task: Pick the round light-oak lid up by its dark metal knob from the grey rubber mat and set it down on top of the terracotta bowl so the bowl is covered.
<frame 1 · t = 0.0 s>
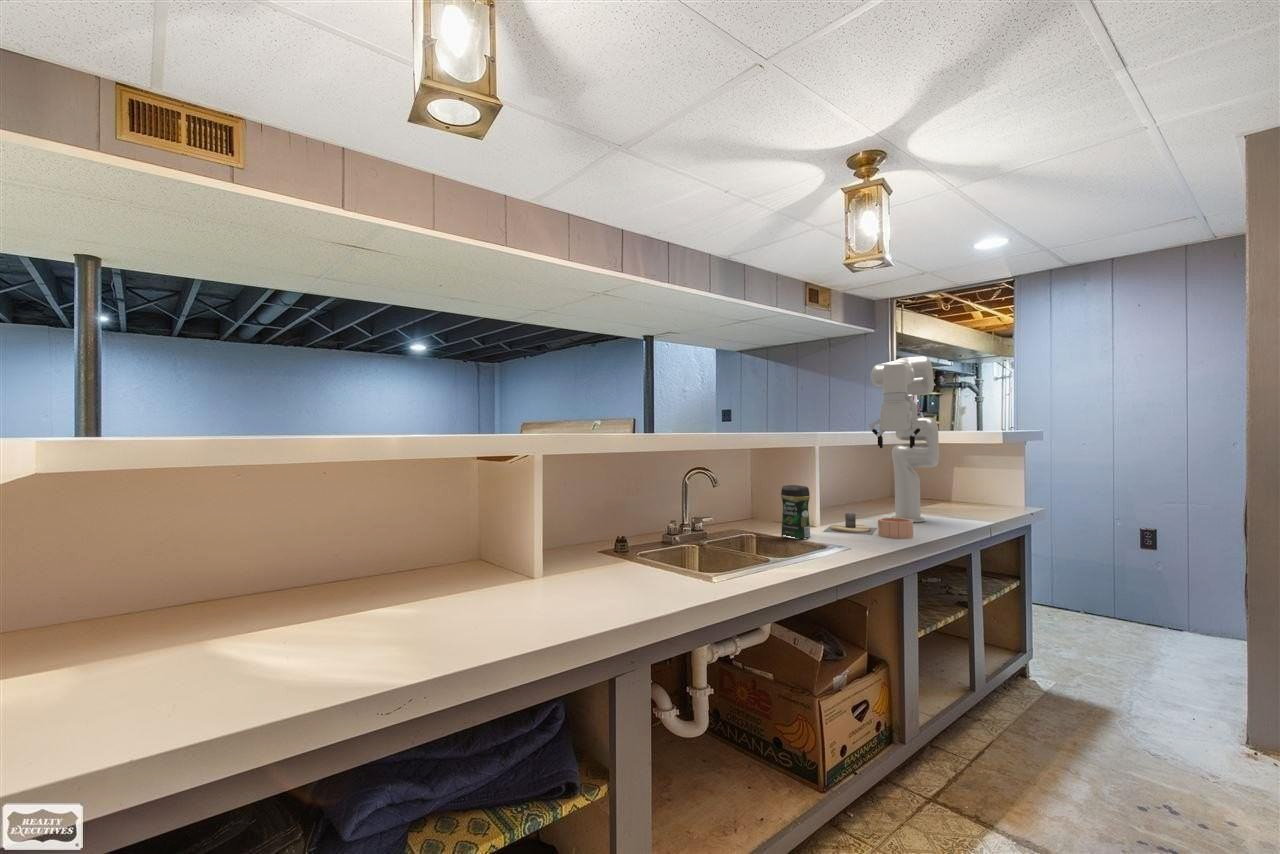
hand: (896, 448, 203), 31 cm above the counter, tool pointing down, fingers open, 9 cm apart
coffee jar: (795, 538, 207), on the counter
terracotta bowl: (895, 537, 206), on the counter
oak lid: (850, 529, 219), resting on rubber mat
rubber mat: (850, 531, 219), on the counter
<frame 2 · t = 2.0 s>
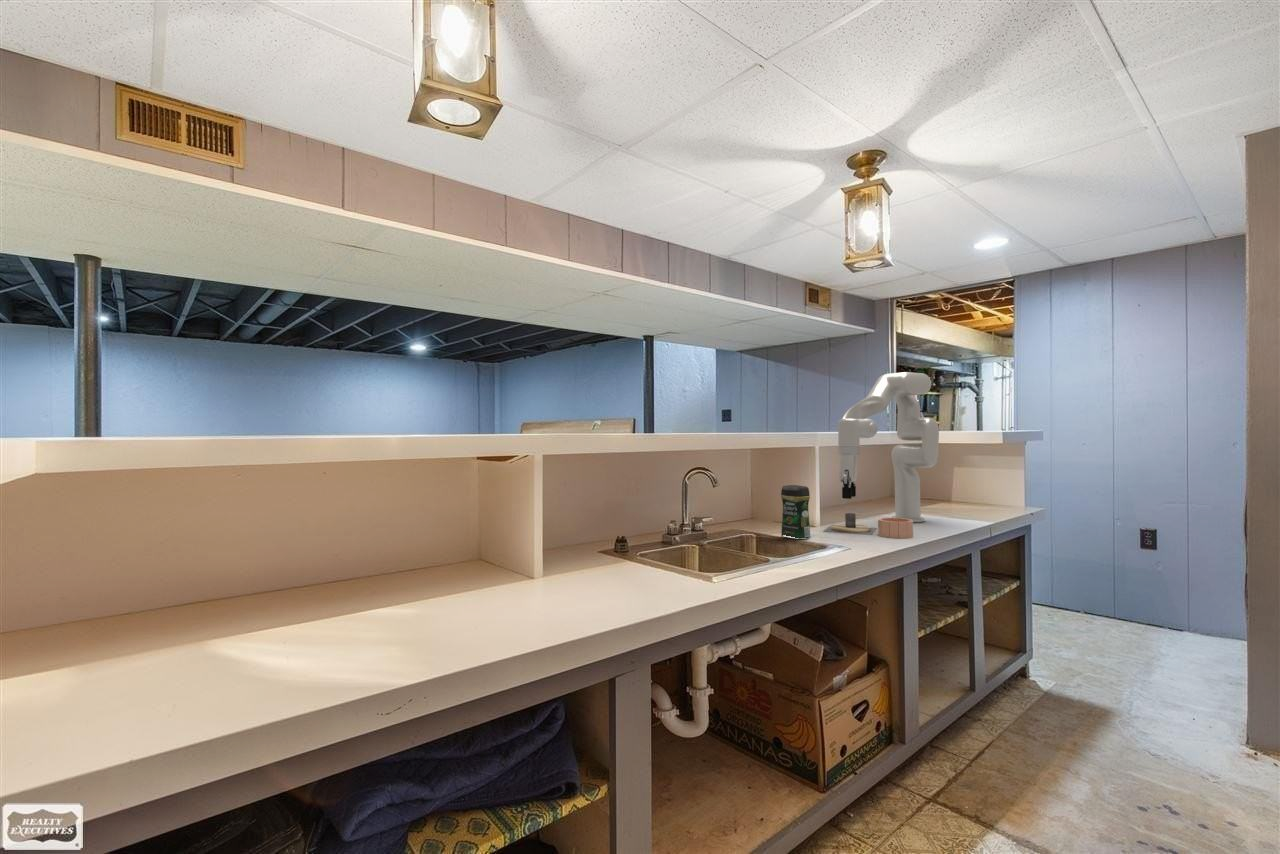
hand: (849, 497, 219), 13 cm above the counter, tool pointing down, fingers open, 9 cm apart
nothing on the counter moved.
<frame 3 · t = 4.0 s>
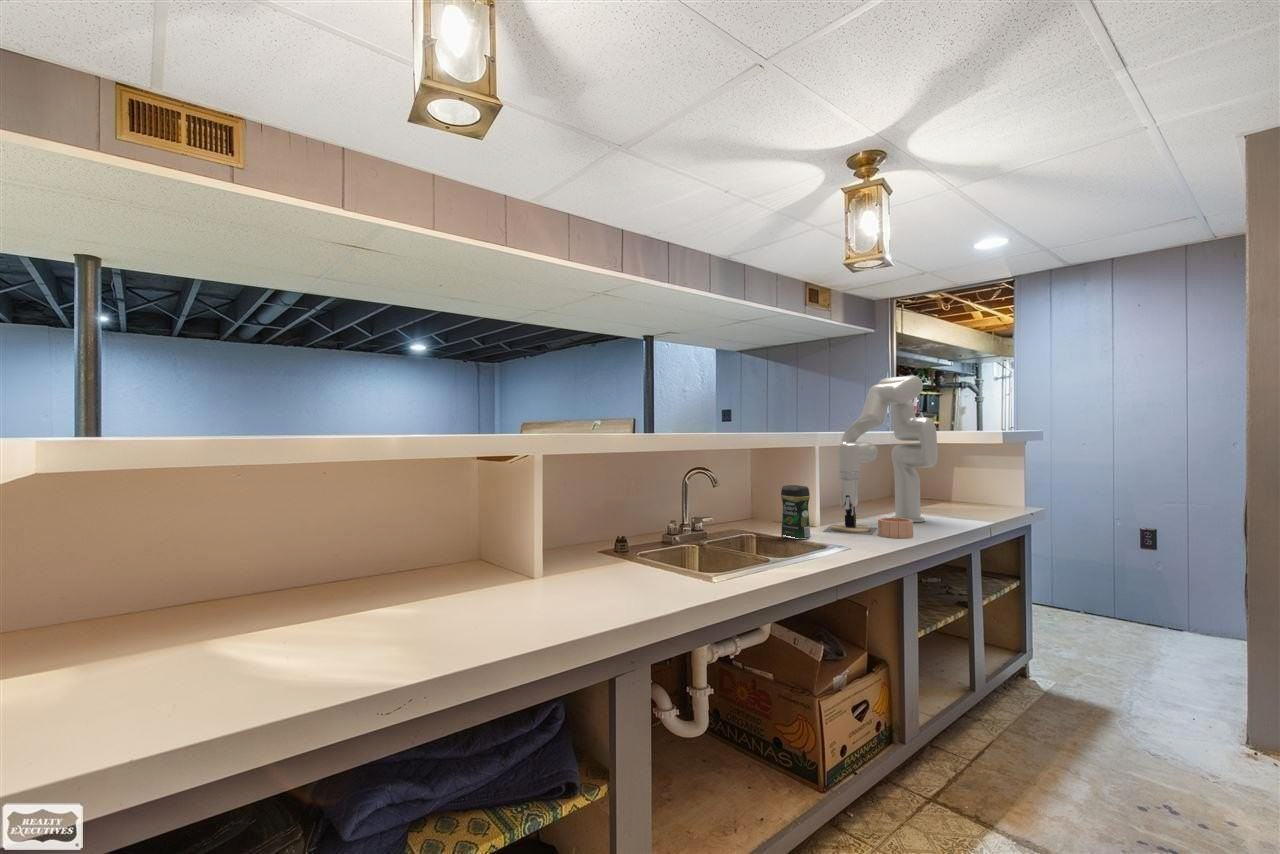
hand: (850, 524, 219), 2 cm above the counter, tool pointing down, fingers closed on oak lid, 3 cm apart
oak lid: (850, 529, 219), resting on rubber mat, touching gripper
everything else where it was.
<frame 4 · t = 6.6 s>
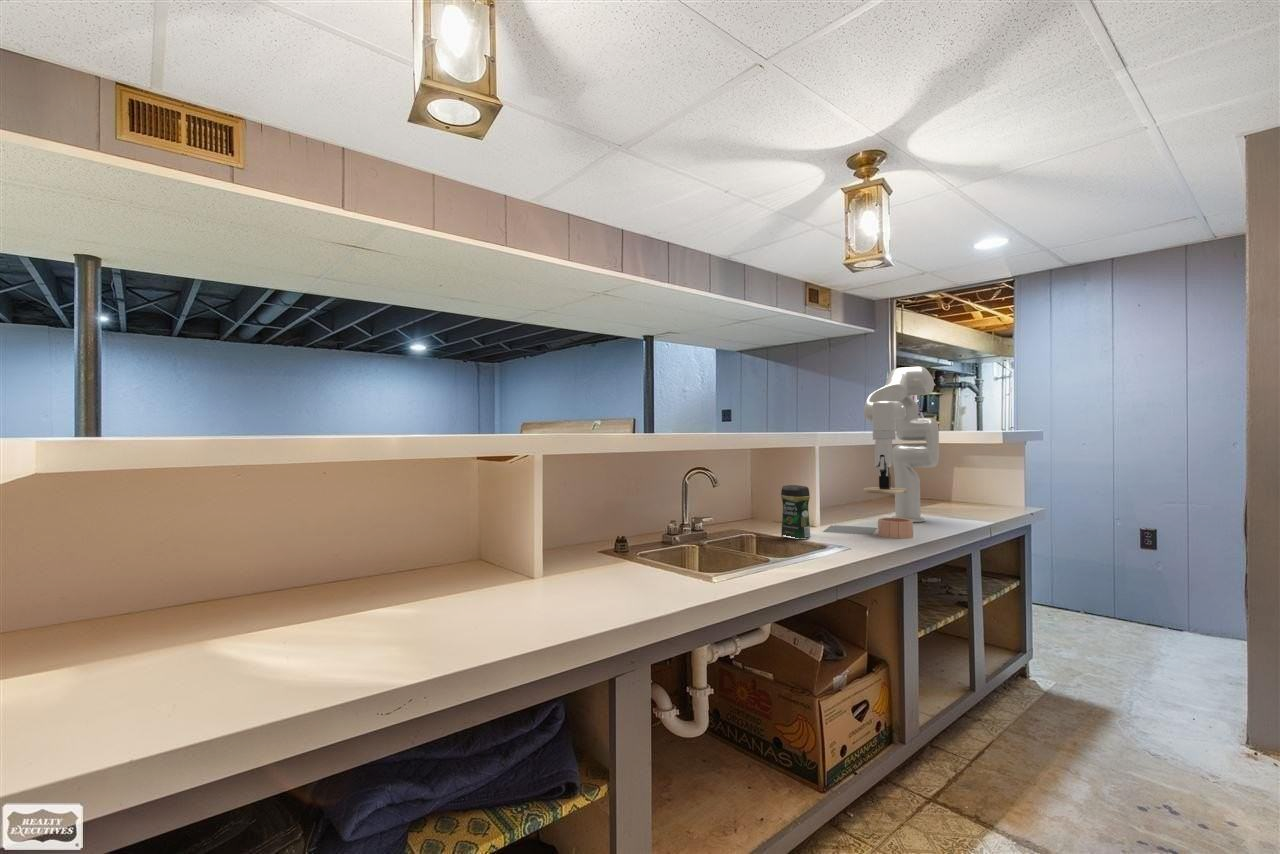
hand: (884, 486, 209), 17 cm above the counter, tool pointing down, fingers closed on oak lid, 3 cm apart
oak lid: (884, 491, 209), point 16 cm above the counter, touching gripper
everything else where it was.
when the fingers open (9 cm above the counter, at t = 9.1 s): oak lid drops 2 cm, resting on terracotta bowl.
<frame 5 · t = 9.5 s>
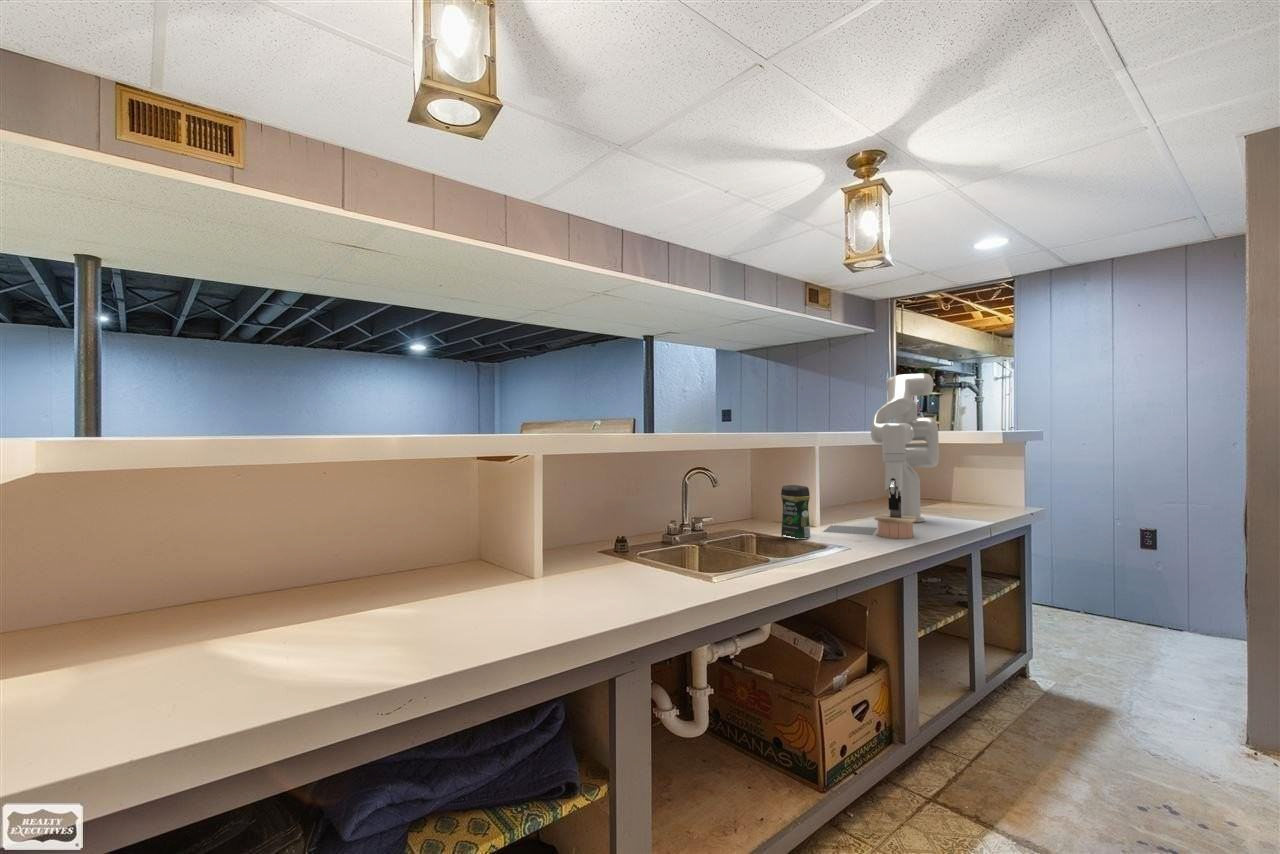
hand: (895, 508, 206), 10 cm above the counter, tool pointing down, fingers open, 8 cm apart
terracotta bowl: (895, 536, 206), on the counter, touching oak lid
oak lid: (895, 519, 206), point 6 cm above the counter, touching terracotta bowl
everything else where it was.
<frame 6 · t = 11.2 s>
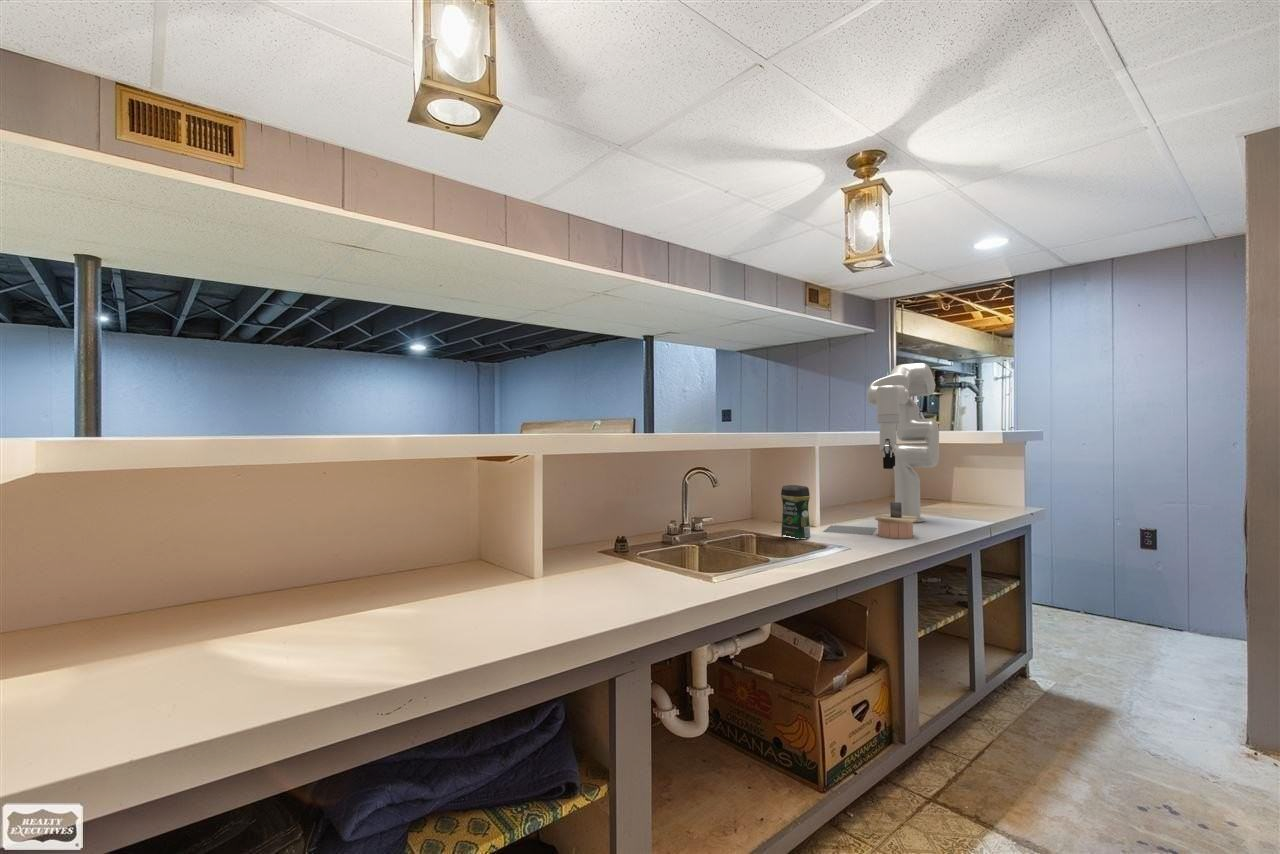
hand: (889, 467, 211), 24 cm above the counter, tool pointing down, fingers open, 9 cm apart
nothing on the counter moved.
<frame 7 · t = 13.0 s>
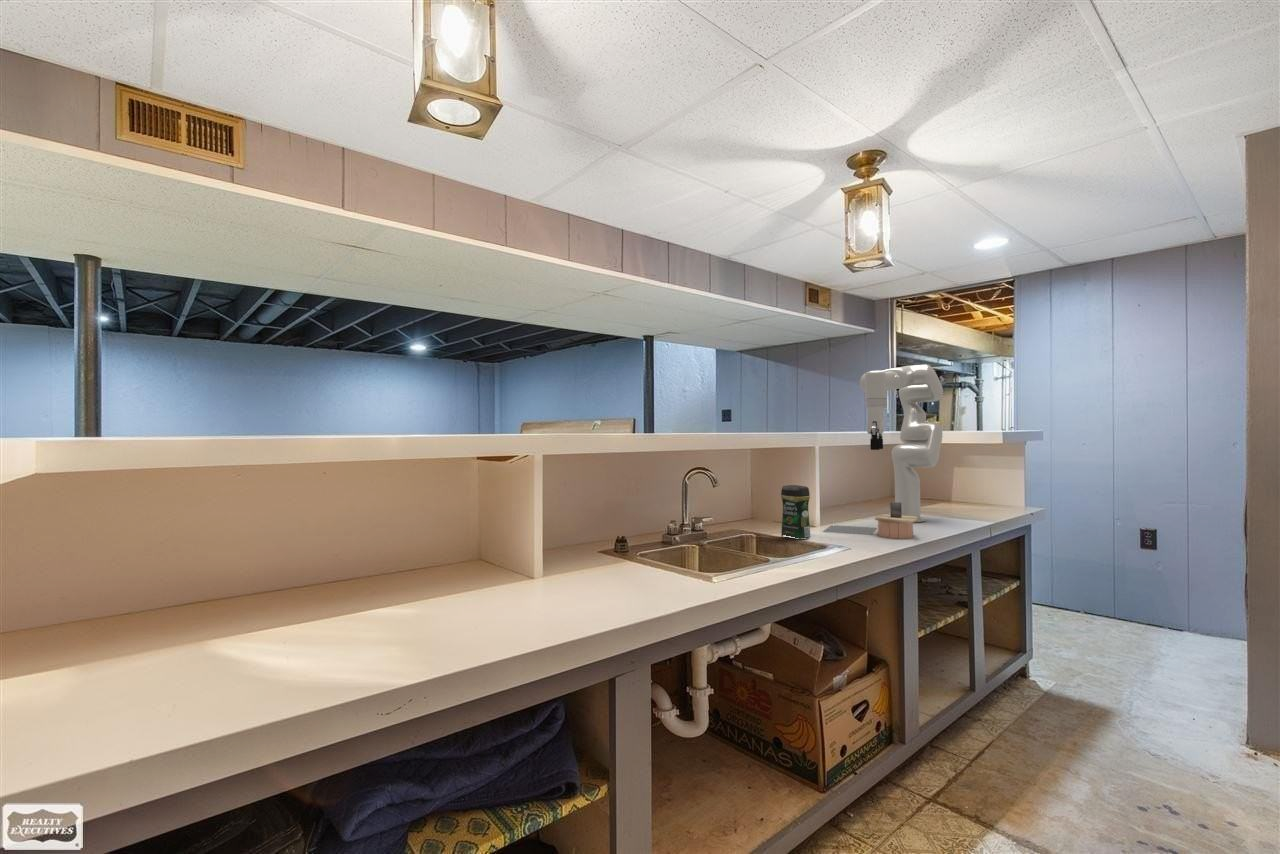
hand: (876, 449, 220), 30 cm above the counter, tool pointing down, fingers open, 9 cm apart
terracotta bowl: (895, 536, 206), on the counter
oak lid: (896, 519, 206), point 6 cm above the counter
everything else where it was.
at the end: oak lid 0.2 cm off-centre on the terracotta bowl, point 6.0 cm above the terracotta bowl's base; oak lid tilted 0°; the gripper is holding nothing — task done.
